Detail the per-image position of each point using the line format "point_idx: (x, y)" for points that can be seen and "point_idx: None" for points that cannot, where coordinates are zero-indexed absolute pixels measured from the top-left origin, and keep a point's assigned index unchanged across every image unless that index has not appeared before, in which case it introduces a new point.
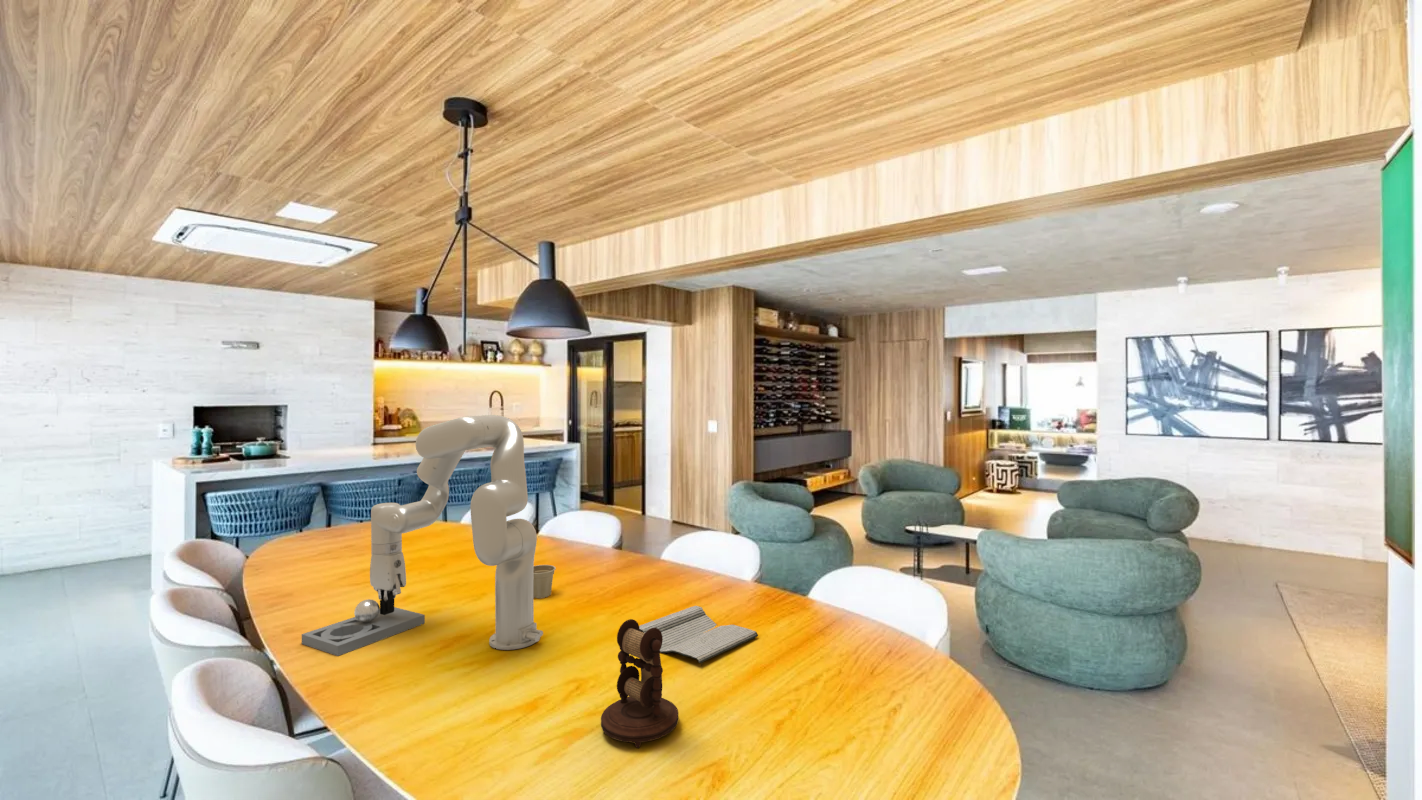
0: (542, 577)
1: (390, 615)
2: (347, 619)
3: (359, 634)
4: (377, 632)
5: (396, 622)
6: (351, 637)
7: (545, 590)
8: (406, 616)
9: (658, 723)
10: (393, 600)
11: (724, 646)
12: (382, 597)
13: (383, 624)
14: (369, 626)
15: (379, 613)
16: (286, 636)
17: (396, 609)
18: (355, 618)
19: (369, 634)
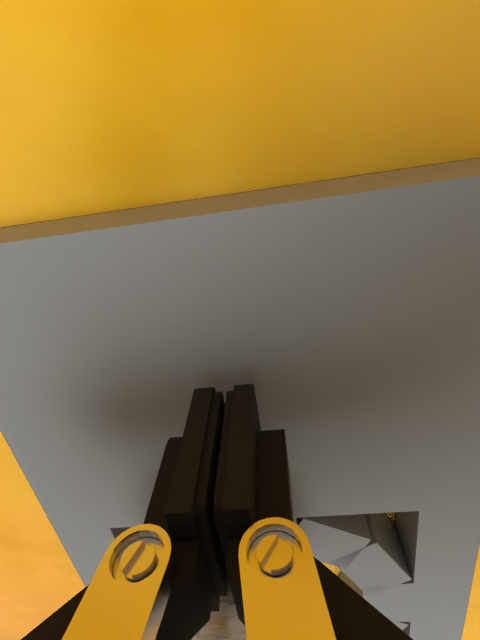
0: None
1: (230, 378)
2: (66, 547)
3: (409, 605)
4: (475, 547)
5: (448, 426)
6: (409, 631)
7: None
8: (394, 312)
9: None
10: (250, 483)
11: None
12: (195, 626)
13: (387, 487)
14: (332, 540)
15: (95, 401)
16: (3, 626)
17: (91, 267)
18: (84, 521)
19: (469, 585)
